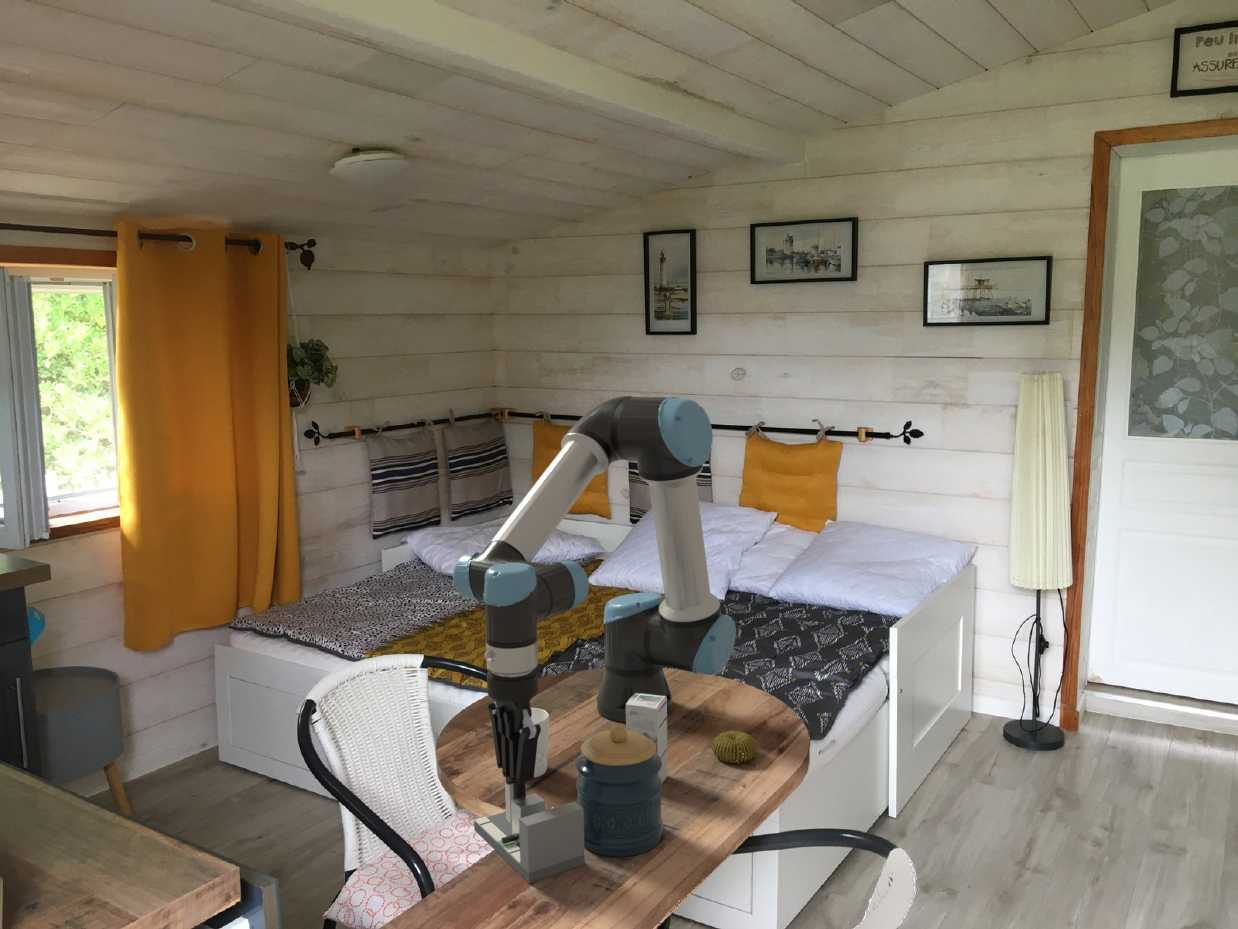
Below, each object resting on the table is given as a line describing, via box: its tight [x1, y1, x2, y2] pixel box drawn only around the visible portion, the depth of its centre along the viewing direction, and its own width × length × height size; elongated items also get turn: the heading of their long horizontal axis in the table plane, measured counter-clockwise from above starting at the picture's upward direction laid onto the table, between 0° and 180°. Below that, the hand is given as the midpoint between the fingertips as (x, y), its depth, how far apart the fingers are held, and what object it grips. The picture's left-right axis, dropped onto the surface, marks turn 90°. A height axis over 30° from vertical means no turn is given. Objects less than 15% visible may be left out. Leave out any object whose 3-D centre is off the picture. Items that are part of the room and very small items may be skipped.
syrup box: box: [625, 693, 669, 784], centre depth 172 cm, size 6×6×14 cm
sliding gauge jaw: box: [502, 792, 546, 844], centre depth 150 cm, size 3×6×6 cm, turn 123°
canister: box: [575, 724, 664, 857], centre depth 153 cm, size 13×13×18 cm
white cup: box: [530, 706, 550, 779], centre depth 176 cm, size 8×8×10 cm
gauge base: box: [473, 801, 586, 884], centre depth 151 cm, size 18×9×8 cm, turn 33°
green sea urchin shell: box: [711, 730, 758, 764], centre depth 181 cm, size 8×4×8 cm
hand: (516, 819), depth 154 cm, fingers closed
